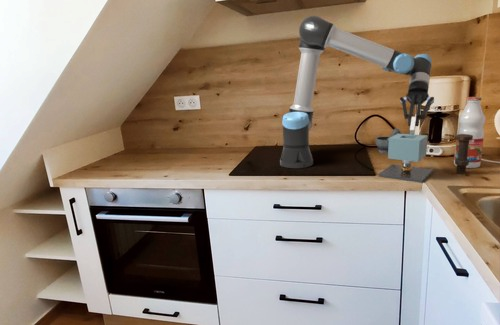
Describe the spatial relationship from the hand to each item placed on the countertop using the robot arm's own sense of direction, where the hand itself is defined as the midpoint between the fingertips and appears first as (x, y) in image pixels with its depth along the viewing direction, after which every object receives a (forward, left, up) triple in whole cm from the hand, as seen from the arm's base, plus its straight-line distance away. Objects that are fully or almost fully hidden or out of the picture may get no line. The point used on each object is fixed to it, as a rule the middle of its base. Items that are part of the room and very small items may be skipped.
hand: (412, 132), depth 136 cm
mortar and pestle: (-19, +29, -16) cm, 39 cm away
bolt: (+17, +7, -16) cm, 25 cm away
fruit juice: (+17, +20, -16) cm, 31 cm away
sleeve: (0, -4, -9) cm, 10 cm away
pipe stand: (0, -4, -16) cm, 17 cm away
